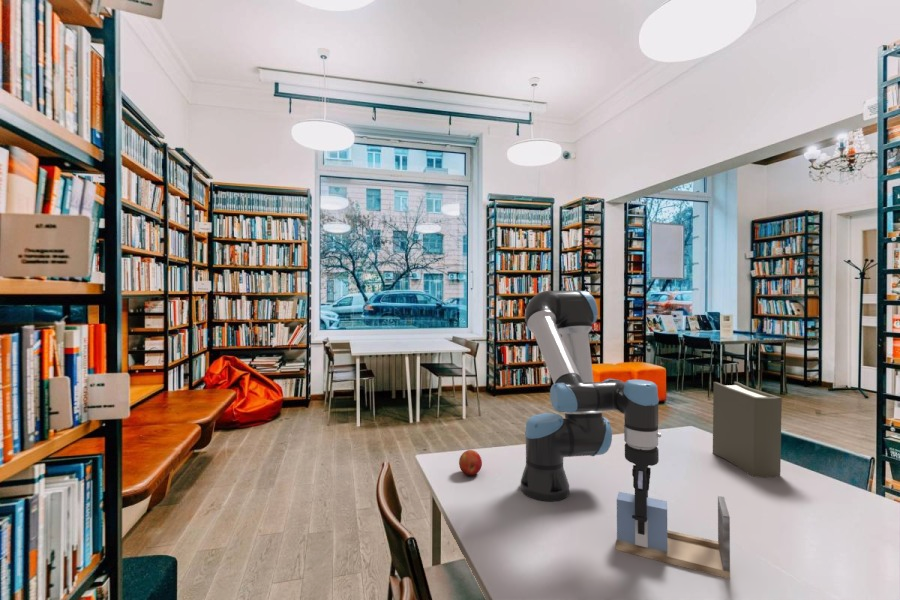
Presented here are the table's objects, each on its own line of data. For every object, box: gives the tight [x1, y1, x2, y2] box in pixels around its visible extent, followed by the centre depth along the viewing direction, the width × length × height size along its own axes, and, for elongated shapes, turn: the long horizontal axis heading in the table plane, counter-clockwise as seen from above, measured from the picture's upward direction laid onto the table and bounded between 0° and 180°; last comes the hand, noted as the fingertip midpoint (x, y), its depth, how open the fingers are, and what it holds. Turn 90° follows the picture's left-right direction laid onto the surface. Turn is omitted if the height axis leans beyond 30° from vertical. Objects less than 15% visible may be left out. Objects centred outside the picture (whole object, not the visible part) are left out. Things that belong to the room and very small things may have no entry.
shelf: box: [615, 495, 731, 580], centre depth 99 cm, size 23×10×14 cm, turn 62°
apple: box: [458, 449, 483, 477], centre depth 143 cm, size 8×8×8 cm
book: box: [712, 381, 783, 478], centre depth 149 cm, size 22×9×28 cm, turn 2°
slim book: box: [616, 491, 668, 552], centre depth 101 cm, size 11×4×10 cm, turn 62°
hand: (642, 539), depth 101 cm, fingers closed on slim book, 4 cm apart
